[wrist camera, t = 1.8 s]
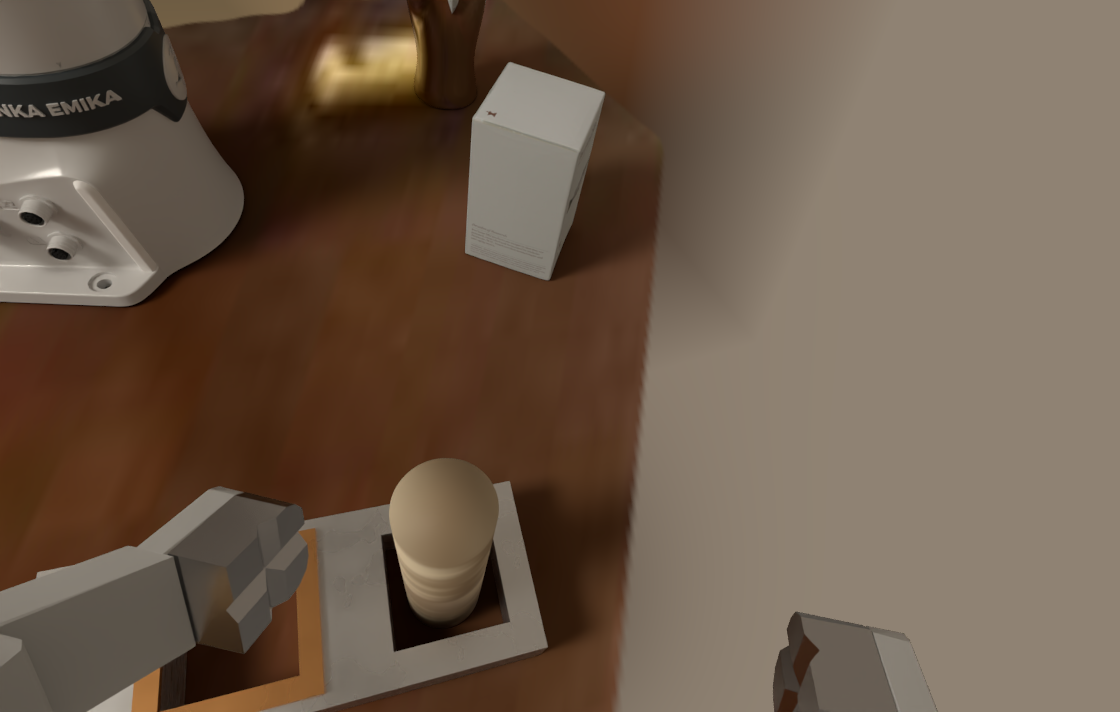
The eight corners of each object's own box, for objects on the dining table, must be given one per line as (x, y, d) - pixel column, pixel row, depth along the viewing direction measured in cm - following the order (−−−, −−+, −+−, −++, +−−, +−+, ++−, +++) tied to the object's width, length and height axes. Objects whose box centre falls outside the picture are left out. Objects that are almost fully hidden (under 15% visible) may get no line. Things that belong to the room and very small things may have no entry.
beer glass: (481, 73, 61) (491, -98, 49) (481, 116, 57) (492, -58, 45) (411, 66, 60) (403, -112, 47) (406, 109, 56) (396, -72, 44)
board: (39, 794, 26) (-7, 799, 24) (69, 586, 31) (33, 570, 28) (539, 654, 33) (548, 646, 30) (505, 498, 37) (510, 479, 34)
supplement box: (550, 284, 47) (580, 153, 37) (462, 254, 48) (467, 115, 37) (575, 223, 51) (609, 90, 41) (494, 196, 52) (507, 56, 41)
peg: (412, 637, 32) (395, 575, 21) (403, 562, 34) (383, 468, 23) (485, 618, 33) (509, 550, 22) (472, 547, 35) (487, 449, 24)
